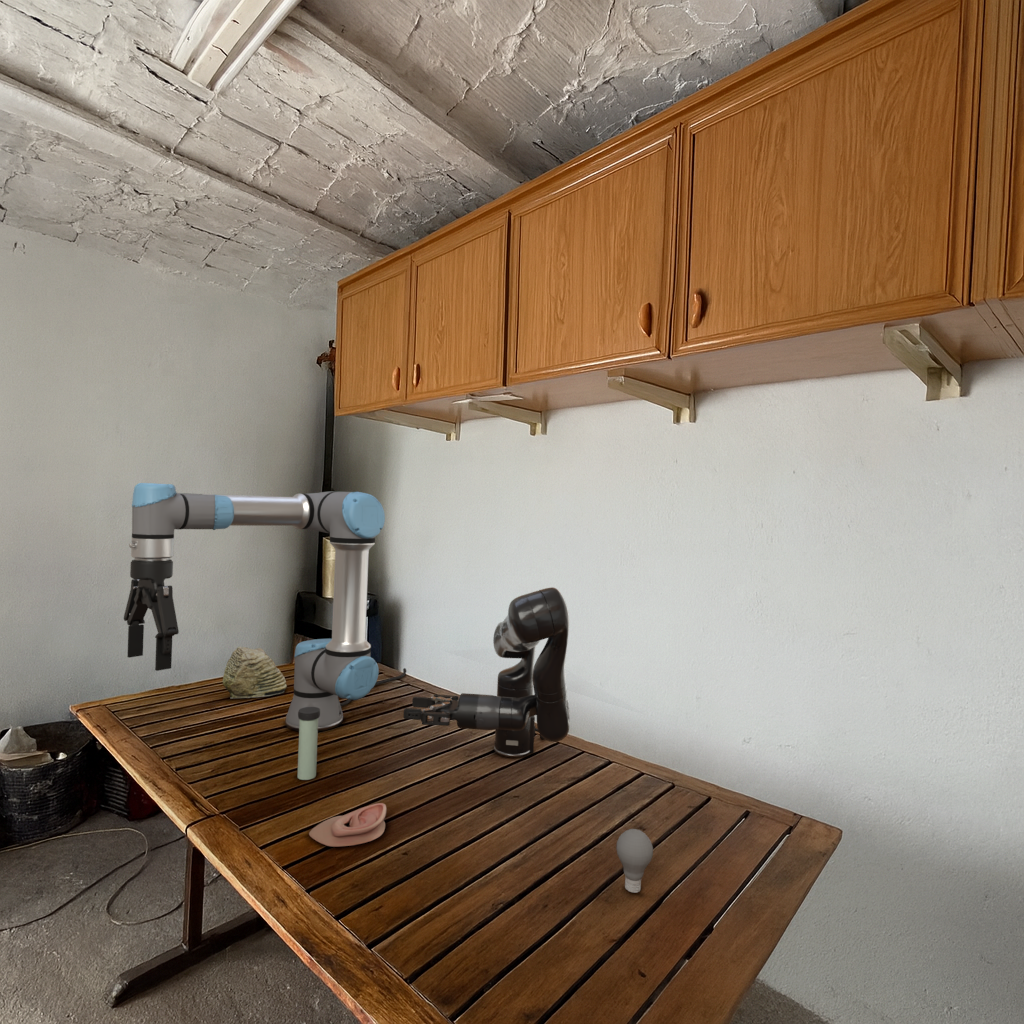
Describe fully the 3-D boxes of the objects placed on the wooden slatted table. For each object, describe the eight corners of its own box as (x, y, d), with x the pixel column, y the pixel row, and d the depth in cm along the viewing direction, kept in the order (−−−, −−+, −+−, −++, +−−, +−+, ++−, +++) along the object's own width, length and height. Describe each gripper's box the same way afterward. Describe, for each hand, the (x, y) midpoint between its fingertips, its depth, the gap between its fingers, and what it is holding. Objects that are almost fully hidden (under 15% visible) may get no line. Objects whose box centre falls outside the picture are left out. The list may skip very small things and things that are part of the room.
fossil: (218, 695, 195) (220, 647, 195) (278, 685, 208) (279, 640, 207) (228, 703, 189) (230, 653, 188) (289, 692, 201) (290, 645, 201)
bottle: (305, 781, 140) (307, 716, 140) (293, 776, 143) (296, 712, 142) (319, 775, 144) (322, 711, 143) (308, 770, 146) (310, 707, 146)
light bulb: (610, 879, 108) (613, 822, 108) (644, 879, 109) (647, 822, 109) (619, 902, 102) (622, 840, 102) (655, 901, 103) (658, 840, 103)
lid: (307, 722, 140) (307, 715, 140) (293, 717, 142) (293, 710, 142) (324, 716, 144) (324, 709, 144) (310, 712, 146) (310, 705, 146)
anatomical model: (301, 820, 116) (331, 792, 127) (300, 842, 116) (330, 812, 127) (368, 831, 113) (393, 801, 124) (368, 853, 113) (392, 821, 124)
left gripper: (108, 554, 134) (104, 654, 134) (159, 565, 118) (155, 678, 119) (146, 552, 140) (143, 648, 140) (199, 563, 124) (195, 671, 124)
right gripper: (484, 686, 148) (415, 682, 149) (477, 704, 134) (401, 700, 135) (482, 718, 148) (414, 713, 149) (475, 740, 134) (400, 735, 135)
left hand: (148, 662), depth 129 cm, fingers open, 13 cm apart
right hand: (408, 707), depth 142 cm, fingers open, 8 cm apart
